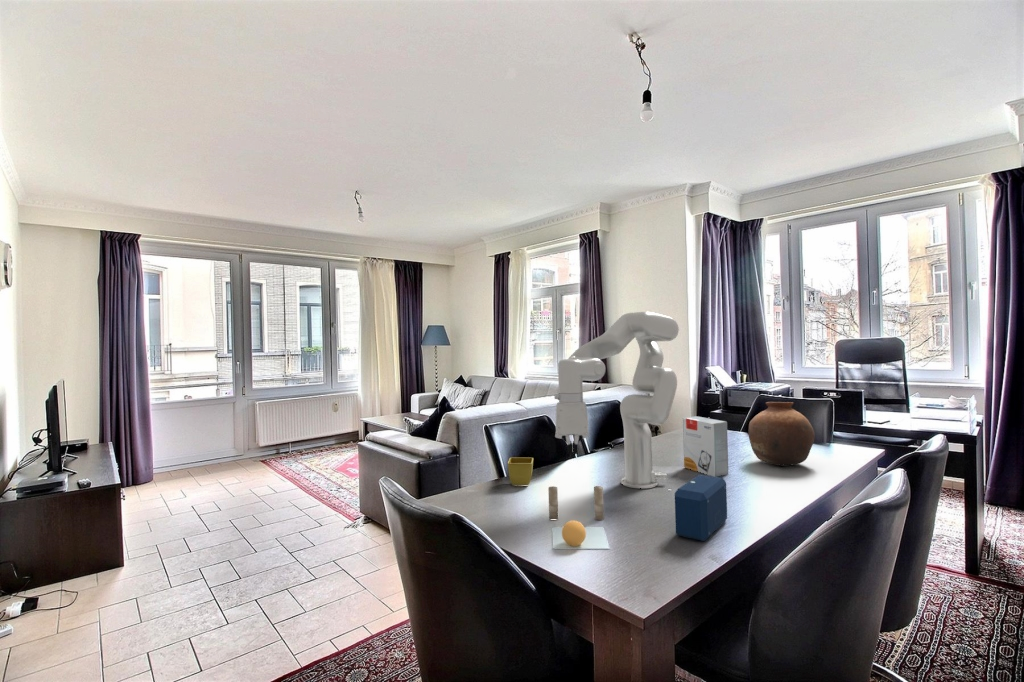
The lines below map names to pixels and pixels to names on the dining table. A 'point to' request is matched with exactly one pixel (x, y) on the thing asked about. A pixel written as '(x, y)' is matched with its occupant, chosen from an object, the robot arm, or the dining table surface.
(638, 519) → the dining table surface
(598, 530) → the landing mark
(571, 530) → the ball
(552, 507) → the post
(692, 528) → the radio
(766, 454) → the pottery
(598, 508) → the post
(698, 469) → the hard drive box
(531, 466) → the flower pot
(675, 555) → the dining table surface
